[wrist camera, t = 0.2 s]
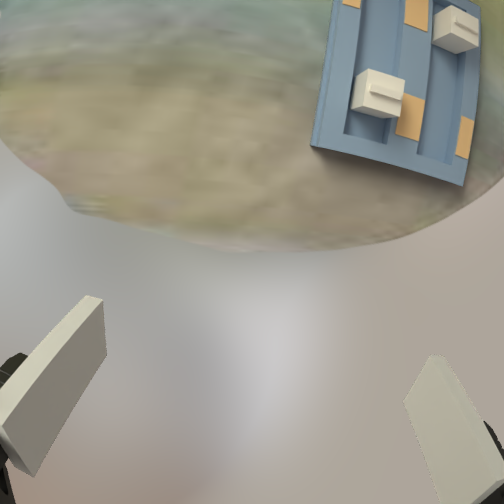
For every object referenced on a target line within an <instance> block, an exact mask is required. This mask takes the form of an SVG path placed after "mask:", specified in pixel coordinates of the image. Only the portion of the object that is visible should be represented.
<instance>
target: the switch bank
mask: <svg viewBox="0 0 504 504" xmlns="http://www.w3.org/2000/svg"><path fill="white" fill-rule="evenodd" d="M450 5H452V6H454V7H456V8H458V9H460V10H462V11H464V12H466V13H468V14H470V15H471V16H473V17H475V18H477V19H479V47H477V48H473V49H470V50H467V51H464V52H461V53H458V54H454V53H452V52H449V51H447V50H445V49H443V48H441V47H438V46H436V45H434V44H432V43H431V37H432V16H434V15H435V14H437V13H439V12H440V11H442V10H443V9H445V8H447V7H448V6H450ZM480 54H481V15H480V7H479V6H478V5H476V4H474V3H472V2H471V1H469V0H333V2H332V10H331V17H330V24H329V31H328V38H327V45H326V51H325V58H324V64H323V70H322V77H321V83H320V89H319V95H318V101H317V107H316V113H315V119H314V124H313V130H312V136H311V141H310V145H312V146H317V147H322V148H326V149H331V150H335V151H340V152H344V153H349V154H353V155H357V156H361V157H365V158H369V159H373V160H377V161H381V162H384V163H388V164H392V165H395V166H399V167H402V168H406V169H409V170H413V171H416V172H419V173H423V174H426V175H429V176H432V177H435V178H439V179H442V180H445V181H448V182H451V183H454V184H457V185H459V186H462V187H463V183H464V179H465V174H466V169H467V164H468V159H469V154H470V148H471V142H472V136H473V130H474V123H475V115H476V107H477V98H478V87H479V74H480ZM368 68H369V69H372V70H375V71H379V72H382V73H385V74H388V75H391V76H394V77H397V78H400V79H403V80H405V85H404V92H403V99H402V106H401V112H400V117H392V118H383V119H381V118H378V117H374V116H371V115H367V114H364V113H360V112H356V111H352V110H349V108H350V102H351V96H352V89H353V83H354V77H356V76H357V75H359V74H360V73H362V72H364V71H365V70H367V69H368Z"/></svg>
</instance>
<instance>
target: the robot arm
mask: <svg viewBox="0 0 504 504" xmlns="http://www.w3.org/2000/svg"><path fill="white" fill-rule="evenodd" d="M106 356H107V350H106V340H105V327H104V312H103V300H102V299H98V298H94V297H91V296H88V295H86V296H85V297H84V298H83V299H82V300H81V301H80V302H79V303H78V304H77V305H76V306H75V307H74V308H73V309H72V310H71V311H70V312H69V313H68V314H67V315H66V316H65V317H64V318H63V319H62V320H61V321H60V322H59V323H58V324H57V326H56V327H55V328H54V329H53V330H52V331H51V332H50V333H49V334H48V335H47V336H46V337H45V338H44V340H43V341H42V342H41V343H40V344H39V345H38V346H37V347H36V348H35V349H34V351H33V352H32V353H31V354H30V355H29V356H27V355H25V354H22V353H18V354H17V355H15V356H13V357H11V358H9V359H8V360H7V361H6V362H5V363H4V364H3V365H2V366H1V367H0V504H16V503H15V499H14V496H13V492H12V488H11V484H10V480H9V476H8V471H7V468H6V466H5V463H6V461H7V459H8V458H9V459H10V461H11V462H12V464H13V465H14V466H15V467H16V468H18V469H19V470H21V471H23V472H25V473H26V474H28V475H30V476H32V477H34V476H35V475H36V473H37V471H38V469H39V468H40V466H41V464H42V462H43V460H44V458H45V457H46V455H47V453H48V451H49V450H50V448H51V446H52V444H53V442H54V441H55V439H56V437H57V435H58V434H59V432H60V430H61V429H62V427H63V425H64V424H65V422H66V420H67V418H68V417H69V415H70V413H71V412H72V410H73V408H74V407H75V405H76V404H77V402H78V400H79V399H80V397H81V395H82V394H83V392H84V390H85V389H86V387H87V386H88V384H89V382H90V380H91V379H92V378H93V376H94V374H95V373H96V371H97V370H98V368H99V367H100V365H101V364H102V362H103V360H104V359H105V357H106ZM403 404H404V406H405V408H406V411H407V413H408V416H409V418H410V421H411V423H412V426H413V429H414V431H415V434H416V437H417V439H418V442H419V445H420V447H421V450H422V453H423V456H424V458H425V461H426V464H427V467H428V470H429V473H430V475H431V479H432V481H433V484H434V487H435V490H436V494H437V497H438V500H439V503H440V504H504V449H502V446H501V444H500V442H499V441H498V438H497V436H496V435H495V433H494V431H493V429H492V428H491V427H490V426H489V425H488V424H487V423H486V422H485V421H482V419H481V417H480V416H479V414H478V412H477V410H476V408H475V407H474V405H473V403H472V402H471V400H470V398H469V396H468V395H467V393H466V391H465V390H464V388H463V387H462V385H461V383H460V381H459V380H458V378H457V377H456V375H455V373H454V372H453V370H452V369H451V367H450V365H449V364H448V362H447V361H446V359H445V358H444V356H439V355H430V356H429V357H428V359H427V361H426V363H425V365H424V367H423V368H422V370H421V372H420V374H419V375H418V377H417V379H416V381H415V382H414V384H413V386H412V387H411V389H410V391H409V392H408V394H407V396H406V397H405V399H404V400H403Z"/></svg>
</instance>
